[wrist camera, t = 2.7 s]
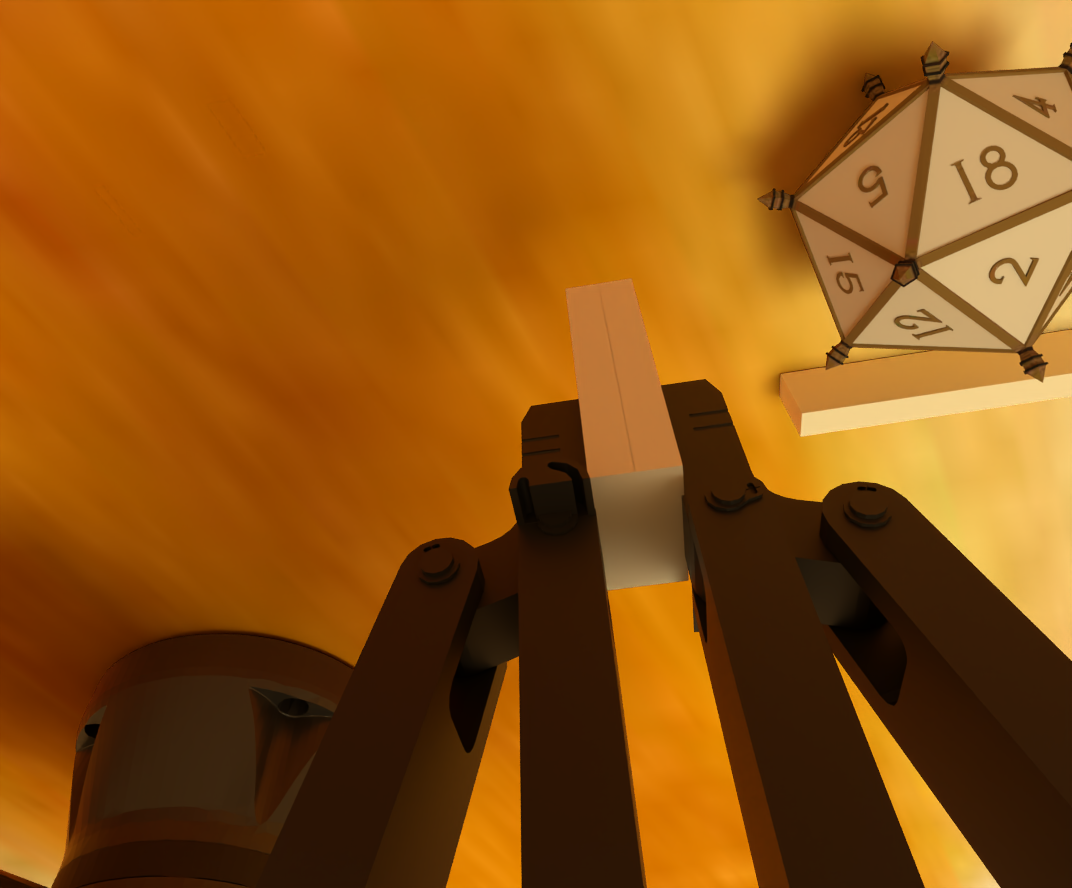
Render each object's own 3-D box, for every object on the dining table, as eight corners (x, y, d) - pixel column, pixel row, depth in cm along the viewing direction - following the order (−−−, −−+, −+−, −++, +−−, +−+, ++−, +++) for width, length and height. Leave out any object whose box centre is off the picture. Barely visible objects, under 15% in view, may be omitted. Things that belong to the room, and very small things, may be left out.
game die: (867, 70, 25) (1237, -116, 16) (948, 304, 27) (1318, 263, 18) (656, 180, 23) (945, 37, 13) (763, 428, 25) (1079, 456, 15)
